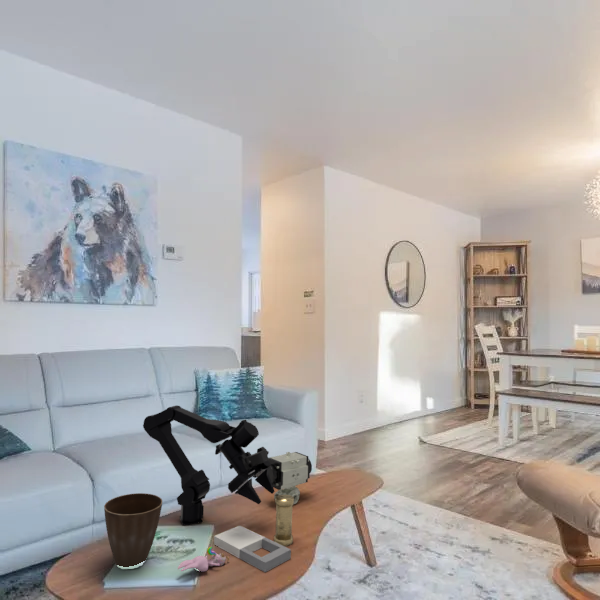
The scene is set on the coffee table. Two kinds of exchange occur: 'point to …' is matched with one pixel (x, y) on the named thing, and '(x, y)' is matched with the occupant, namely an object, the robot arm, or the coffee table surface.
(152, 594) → the coffee table surface
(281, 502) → the brass fitting
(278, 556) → the grey holder base
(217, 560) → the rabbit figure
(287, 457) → the ball valve
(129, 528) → the plant pot
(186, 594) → the coffee table surface
